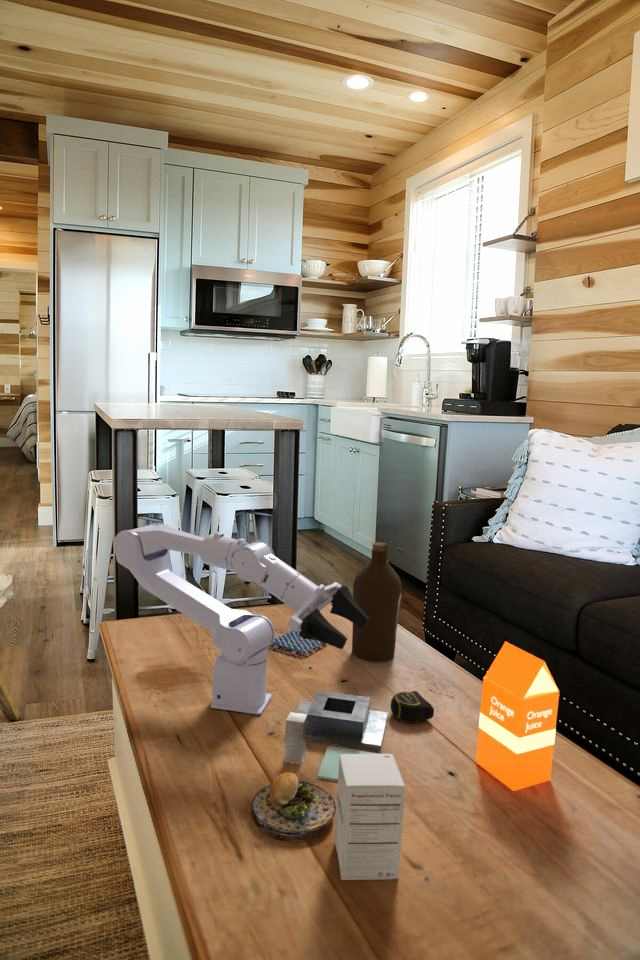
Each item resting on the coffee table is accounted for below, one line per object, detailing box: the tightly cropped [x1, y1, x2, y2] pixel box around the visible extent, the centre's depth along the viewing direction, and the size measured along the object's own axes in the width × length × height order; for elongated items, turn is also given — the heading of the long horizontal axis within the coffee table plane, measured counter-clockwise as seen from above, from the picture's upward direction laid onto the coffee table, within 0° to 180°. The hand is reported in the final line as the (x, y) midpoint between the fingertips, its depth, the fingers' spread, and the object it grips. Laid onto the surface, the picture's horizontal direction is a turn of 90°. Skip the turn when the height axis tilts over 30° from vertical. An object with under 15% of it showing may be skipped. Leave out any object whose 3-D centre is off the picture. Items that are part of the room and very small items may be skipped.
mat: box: [316, 745, 379, 782], centre depth 111 cm, size 9×9×1 cm
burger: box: [250, 767, 336, 843], centre depth 98 cm, size 12×12×8 cm
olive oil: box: [351, 541, 403, 663], centre depth 155 cm, size 11×11×25 cm
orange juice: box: [475, 641, 560, 792], centre depth 110 cm, size 8×9×20 cm
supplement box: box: [334, 753, 406, 881], centre depth 88 cm, size 7×7×13 cm
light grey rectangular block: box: [283, 711, 307, 765], centre depth 112 cm, size 3×3×7 cm
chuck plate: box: [294, 689, 389, 752], centre depth 123 cm, size 16×12×4 cm
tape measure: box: [390, 690, 435, 723], centre depth 128 cm, size 7×7×4 cm
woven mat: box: [268, 629, 329, 660], centre depth 159 cm, size 10×11×2 cm
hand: (355, 633), depth 118 cm, fingers open, 7 cm apart
